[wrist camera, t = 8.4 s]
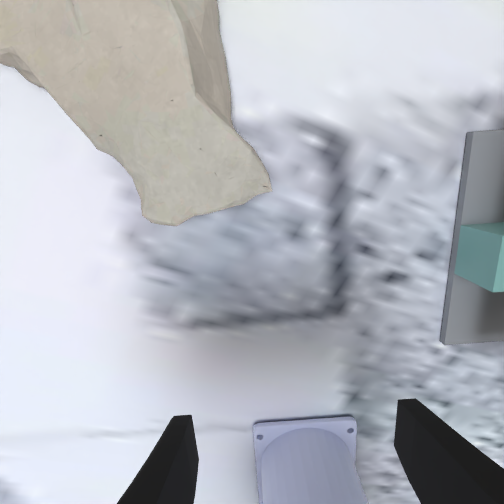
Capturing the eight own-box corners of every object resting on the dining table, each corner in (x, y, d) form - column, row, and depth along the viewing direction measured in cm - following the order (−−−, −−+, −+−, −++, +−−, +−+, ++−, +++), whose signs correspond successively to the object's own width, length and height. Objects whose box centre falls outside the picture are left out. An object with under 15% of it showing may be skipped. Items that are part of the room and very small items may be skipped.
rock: (43, 237, 18) (275, 209, 17) (-33, 252, 14) (274, 217, 12) (-75, -190, 14) (222, -284, 12) (-243, -369, 9) (190, -558, 8)
